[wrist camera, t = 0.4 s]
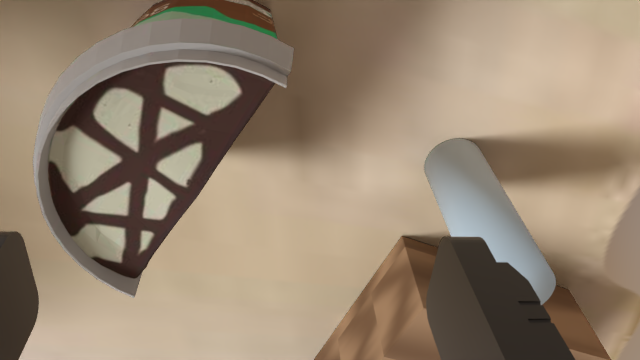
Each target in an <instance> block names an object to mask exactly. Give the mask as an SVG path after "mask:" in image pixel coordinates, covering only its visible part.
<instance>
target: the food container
mask: <svg viewBox="0 0 640 360" xmlns="http://www.w3.org/2000/svg"><path fill="white" fill-rule="evenodd" d="M293 54H294V48H293V47H291V46H289V45H287V44H285V43H283V42H281V41H279V40H278V39H277V35H276V31H275V27H274V23H273V19H272V15H271V11H270V9H268V8H266V7H264V6H263V5H261V4H259V3H257V2H255V1H253V0H164V1H161V2H159V3H157V4H154V5H153V6H152V7H151V8H150V9H149V10H148V11H147V12H145V13H144V14H143V15H142V16H141V17H140V18H139V19H138V20H137V21H136V22H135V23H134V24H133V25H132V27H131V28H128V29H124V30H122V31H120V32H118V33H116V34H114V35H111V36H109V37H107V38H105V39H103V40H101V41H99V42H97V43H96V44H95V45H93V46H92V47H90V48H89V49H88V50H86V51H85V52H84V53H82V54H81V55H79V56H78V57H77V58H76V59H75V60H74V61H73V62H72V63H71V64H70V65H69V66H68V68H67V69H66V70H65V71H64V72H63V73H62V74H61V75H60V77H59V78H58V80H57V82H56V83H55V85H54V86H53V88H52V90H51V91H50V93H49V95H48V97H47V100H46V103H45V106H44V108H43V111H42V114H41V117H40V122H39V126H38V131H37V136H36V141H35V149H34V156H33V169H34V182H35V186H36V190H37V197H38V201H39V204H40V207H41V211H42V214H43V217H44V219H45V221H46V223H47V225H48V227H49V229H50V231H51V233H52V234H53V236H54V237H55V238H56V240H57V241H58V242H59V244H60V245H61V247H62V248H63V249H64V251H65V252H66V253H67V254H68V255H69V256H70V257H71V258H72V259H73V260H74V261H75V262H76V263H77V264H78V265H79V266H80V267H82V268H83V269H84V270H86V271H87V272H88V273H90V274H91V275H92V276H93V277H95V278H96V279H98V280H99V281H101V282H103V283H104V284H106V285H108V286H110V287H111V288H113V289H115V290H117V291H119V292H121V293H124V294H126V295H128V296H130V297H133V298H134V297H135V294H136V291H137V288H138V284H139V281H140V278H141V275H142V271H143V270H144V269H145V268H146V266H147V264H148V262H149V260H150V259H151V257H152V256H153V254H154V253H155V252H156V250H157V249H158V247H159V246H160V245H161V243H162V242H163V241H164V239H165V238H166V236H167V235H168V234H169V232H170V231H171V230H172V228H173V227H174V226H175V224H176V223H177V222H178V220H179V219H180V218H181V217H182V215H183V214H184V213H185V212H186V210H187V209H188V208H189V206H190V205H191V204H192V203H193V201H194V200H195V199H196V197H197V196H198V195H199V193H200V192H201V190H202V189H203V187H204V186H205V184H206V183H207V181H208V180H209V178H210V177H211V175H212V173H213V172H214V170H215V169H216V167H217V166H218V164H219V163H220V161H221V160H222V159H223V157H224V156H225V154H226V153H227V151H228V150H229V148H230V147H231V145H232V144H233V142H234V141H235V139H236V138H237V137H238V135H239V134H240V132H241V131H242V130H243V128H244V127H245V125H246V124H247V122H248V121H249V120H250V118H251V117H252V115H253V114H254V113H255V111H256V110H257V108H258V107H259V106H260V104H261V103H262V101H263V100H264V98H265V97H266V95H267V94H268V93H269V91H270V90H271V88H272V87H273V85H274V84H275V83H276V84H278V85H280V86H282V87H284V88H286V87H287V76H288V75H289V73H290V72H291V68H292V61H293Z"/></svg>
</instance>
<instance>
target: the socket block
mask: <svg viewBox="0 0 640 360" xmlns="http://www.w3.org/2000/svg"><path fill="white" fill-rule="evenodd" d="M437 251H438V248H437V247H434V246H431V245H428V244H425V243H422V242H419V241H416V240H413V239H410V238H406V237H403V236H402V237H401V238H400V239H399V241H398V242H397V244H396V245H395V246H394V248H393V249H392V251H391V252H390V253H389V255H388V256H387V258H386V259H385V260H384V262H383V263H382V265H381V266H380V267H379V269H378V270H377V272H376V273H375V275H374V276H373V277H372V279H371V280H370V282H369V283H368V284H367V286H366V287H365V289H364V290H363V291H362V293H361V294H360V296H359V297H358V298H357V300H356V301H355V303H354V304H353V306H352V307H351V308H350V310H349V311H348V313H347V314H346V315H345V317H344V318H343V320H342V321H341V322H340V324H339V325H338V327H337V328H336V329H335V331H334V332H333V334H332V335H331V336H330V338H329V339H328V341H327V342H326V344H325V345H324V346H323V348H322V349H321V351H320V352H319V353H318V355H317V356H316V358H315V359H314V360H441V358H440V355H439V352H438V349H437V346H436V343H435V340H434V337H433V334H432V331H431V328H430V326H429V322H428V318H427V310H426V297H427V291H428V287H429V283H430V279H431V275H432V271H433V267H434V263H435V259H436V255H437ZM542 305H543V306H544V308H545V309H546V311H547V313H548V314H549V316H550V318H551V323H554V324H555V326H556V328H557V329H558V331H559V333H560V334H561V336H562V338H563V340H564V341H565V343H566V345H567V346H568V348H569V350H570V351H571V353H572V355H573V356H574V358H575V360H611V359H610V357H609V355H608V354H607V352H606V350H605V349H604V347H603V346H602V344H601V342H600V341H599V339H598V337H597V336H596V334H595V332H594V331H593V329H592V327H591V326H590V324H589V322H588V321H587V319H586V318H585V316H584V314H583V313H582V311H581V309H580V308H579V306H578V304H577V303H576V301H575V299H574V298H573V296H572V294H571V293H570V291H569V290H568V289H565V288H562V287H558V286H555V289H554V291H553V293H552V295H551V296H550V298H549V299H548V300H547V301H546V302H545V303H544V304H542Z"/></svg>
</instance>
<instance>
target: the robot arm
mask: <svg viewBox="0 0 640 360" xmlns="http://www.w3.org/2000/svg"><path fill="white" fill-rule="evenodd" d="M540 302H541V301H540V299H539V298H538V296H537V294H536V292H535V291H534V289H533V287H532V286H531V284H530V282H529V281H528V280H527V279H526V278H525V277H524V276H523V275H522V274H520V273H519V272H518V271H517V270H516V269H515V268H514V267H512V266H511V265H510V264H509V263H508V262H496V260H495V258H494V256H493V255H492V253H491V251H490V249H489V247H488V245H487V244H486V242H485V240H484V239H483V238H481V237H443V238H442V239H441V241H440V243H439V247H438V251H437V255H436V259H435V263H434V267H433V271H432V275H431V279H430V283H429V287H428V291H427V297H426V310H427V318H428V322H429V326H430V328H431V331H432V334H433V337H434V340H435V343H436V346H437V349H438V352H439V355H440V358H441V360H575V358H574V356H573V355H572V353H571V351H570V350H569V348H568V346H567V345H566V343H565V341H564V340H563V338H562V336H561V334H560V333H559V331H558V329H557V328H556V326H555V324H554V323H551V318H550V316H549V314H548V313H547V311H546V309H545V308H544V306H543V305H541V303H540ZM38 305H39V298H38V291H37V287H36V284H35V280H34V276H33V273H32V269H31V265H30V262H29V258H28V254H27V251H26V247H25V243H24V240H23V238H22V236H21V234H20V233H18V232H0V360H18V359H19V357H20V355H21V353H22V351H23V349H24V347H25V344H26V342H27V340H28V338H29V336H30V334H31V332H32V330H33V327H34V325H35V322H36V319H37V314H38Z"/></svg>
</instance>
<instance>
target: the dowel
mask: <svg viewBox="0 0 640 360" xmlns="http://www.w3.org/2000/svg"><path fill="white" fill-rule="evenodd" d="M424 170H425V174H426V176H427V179H428V181H429V184H430V186H431V189H432V191H433V193H434V196H435V198H436V201H437V203H438V205H439V208H440V210H441V213H442V215H443V218H444V220H445V222H446V225H447V227H448V230H449V232H450V235H451V237H481V238H483V239H484V240H485V242H486V244H487V245H488V247H489V249H490V251H491V253H492V255H493V256H494V258H495V260H496V262H508V263H509V264H510V265H511V266H512V267H514V268H515V269H516V270H517V271H518V272H519V273H520V274H522V275H523V276H524V277H525V278H526V279H527V280H528V281H529V282H530V284H531V286H532V287H533V289H534V291H535V292H536V294H537V296H538V298H539V299H540V301H541V302H540V303H541V305H542V304H544V303H545V302H546V301H547V300H548V299H549V298H550V296H551V295H552V293H553V291H554V289H555V286H556V278H555V275H554V273H553V271H552V270H551V268H550V266H549V265H548V263H547V261H546V260H545V258H544V256H543V255H542V253H541V251H540V250H539V248H538V246H537V244H536V243H535V241H534V239H533V238H532V236H531V234H530V233H529V231H528V229H527V228H526V226H525V224H524V223H523V221H522V219H521V218H520V216H519V214H518V213H517V211H516V209H515V208H514V206H513V204H512V202H511V201H510V199H509V197H508V196H507V194H506V192H505V191H504V189H503V187H502V186H501V184H500V182H499V181H498V179H497V177H496V176H495V174H494V172H493V171H492V169H491V167H490V166H489V164H488V162H487V161H486V159H485V157H484V155H483V154H482V152H481V150H480V149H479V147H478V146H477V145H476V144H475V143H473V142H472V141H470V140H466V139H451V140H447V141H445V142H442V143H440V144H439V145H437V146H436V147H435V148H434V149H433V150H432V151H431V152H430V153H429V154H428V156H427V158H426V160H425V165H424Z"/></svg>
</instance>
